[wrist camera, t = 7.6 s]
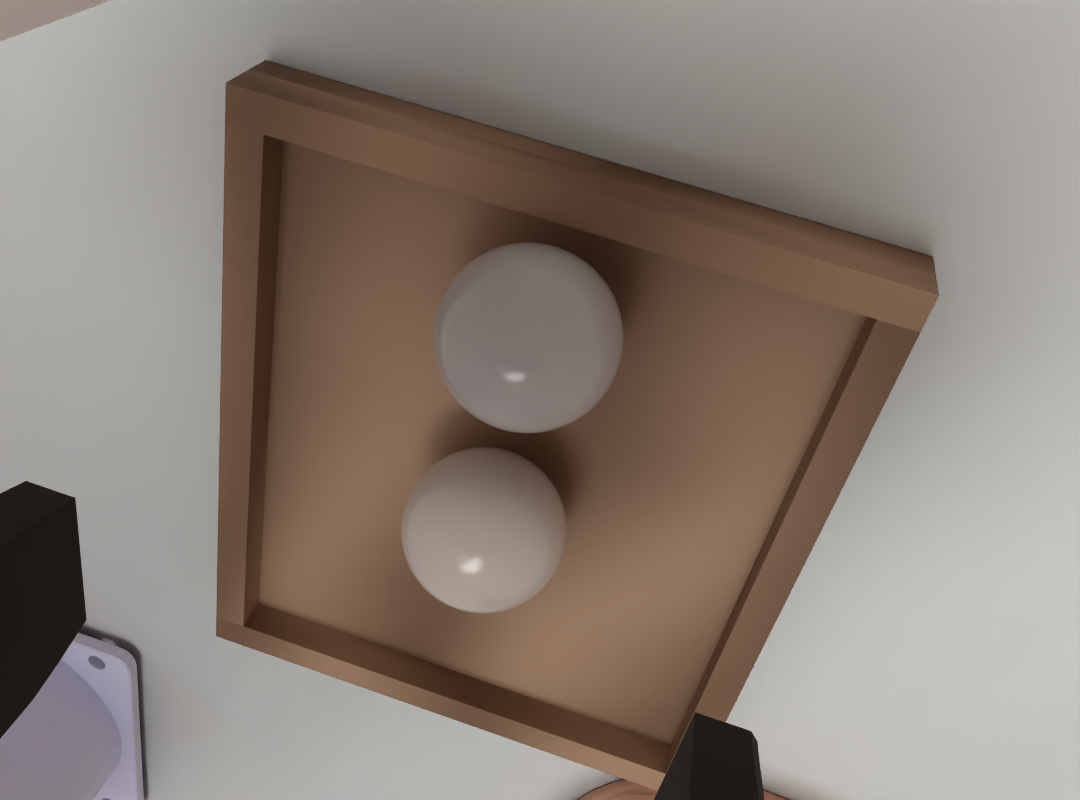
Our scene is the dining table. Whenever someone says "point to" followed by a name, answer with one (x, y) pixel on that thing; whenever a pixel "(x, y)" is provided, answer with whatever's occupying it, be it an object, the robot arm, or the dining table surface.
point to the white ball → (483, 530)
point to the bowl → (636, 792)
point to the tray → (562, 454)
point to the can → (37, 13)
